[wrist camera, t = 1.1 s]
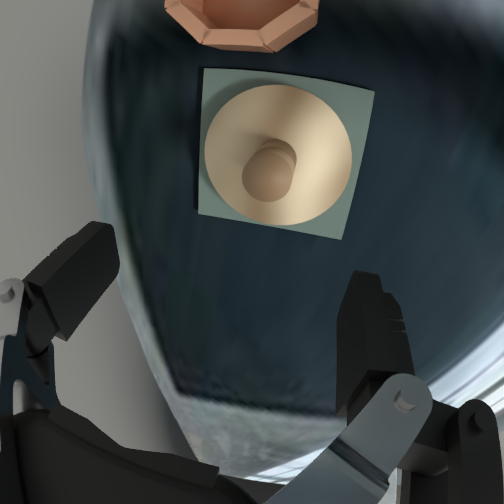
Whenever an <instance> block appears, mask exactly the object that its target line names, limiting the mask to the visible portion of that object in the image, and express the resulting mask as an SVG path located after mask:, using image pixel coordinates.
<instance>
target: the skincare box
mask: <svg viewBox="0 0 504 504" xmlns="http://www.w3.org/2000/svg"><path fill="white" fill-rule="evenodd" d="M388 482H389V483H390V485H389V488H388V490H387V492H386V493H385V495H384V496H383V498H382V499H381V500H380V501H379V503H378V504H395V503H396V482H397V468H395V469H394V471H393V472H392V473H391V475H390V477H389V479H388Z"/></svg>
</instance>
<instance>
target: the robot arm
mask: <svg viewBox="0 0 504 504" xmlns="http://www.w3.org/2000/svg"><path fill="white" fill-rule="evenodd" d="M119 267H120V260H119V255H118V249H117V244H116V238H115V232H114V228H113V226H112V225H111V224H107V223H101V222H96V221H91V222H90V223H88V224H87V225H86V226H85V227H83V228H82V229H81V230H80V231H79V232H78V233H76V234H75V235H73V236H71V237H69V238H67V239H66V240H65V241H63V242H62V243H61V244H60V245H59V246H58V247H57V249H55V250H54V251H52V252H51V253H50V256H47V257H46V258H45V259H44V260H43V261H42V262H41V263H39V265H37V266H36V267H35V268H34V269H33V270H32V271H31V272H30V273H29V274H28V275H27V276H26V277H25V278H24V279H23V280H22V281H21V280H20V279H17V278H10V279H7V280H4V281H2V282H1V283H0V504H258V503H257V501H256V500H255V499H254V498H253V497H252V496H251V495H249V493H247V492H246V491H245V490H244V489H242V488H241V487H240V486H238V485H237V484H235V483H234V482H232V481H230V480H228V479H227V478H225V477H223V476H221V475H220V472H219V467H217V466H213V465H209V464H205V463H202V462H198V461H194V460H191V459H187V458H184V457H181V456H177V455H174V454H170V453H160V452H151V451H143V450H136V449H129V448H125V447H122V446H120V445H119V444H118V443H116V442H115V441H114V440H112V439H111V438H110V437H109V436H107V435H106V434H105V433H104V432H102V431H101V430H100V429H99V428H98V427H96V426H95V425H94V424H93V423H92V422H91V421H90V420H88V419H87V418H85V417H82V416H81V415H79V414H77V413H75V412H73V411H71V410H70V409H67V408H66V407H64V406H62V405H61V404H60V402H59V399H58V397H57V394H56V387H55V370H54V346H53V343H52V341H51V340H52V339H53V337H54V336H56V337H58V338H60V339H62V340H64V341H68V339H69V338H70V336H71V335H72V334H73V332H74V331H75V329H76V328H77V327H78V325H79V324H80V322H81V321H82V320H83V319H84V317H85V316H86V315H87V313H88V312H89V311H90V310H91V308H92V307H93V306H94V304H95V303H96V302H97V301H98V299H99V298H100V296H101V295H102V294H103V293H104V292H105V290H106V289H107V288H108V287H109V285H110V284H111V283H112V282H113V280H114V279H115V278H116V276H117V274H118V272H119ZM405 332H406V329H405V324H404V322H403V316H402V312H401V308H400V305H399V304H398V303H397V301H396V300H395V298H394V297H393V296H392V294H391V293H385V292H383V289H382V285H381V281H380V277H379V275H378V274H373V273H368V272H362V271H357V270H355V271H354V272H353V274H352V276H351V279H350V282H349V285H348V287H347V290H346V293H345V295H344V298H343V301H342V303H341V306H340V309H339V312H338V317H337V383H336V413H335V416H346V417H347V427H346V428H345V429H344V430H343V432H342V433H341V434H340V435H339V436H338V437H337V438H336V439H335V440H334V441H333V442H332V443H331V444H330V445H329V446H328V447H327V448H326V449H325V450H324V451H323V452H322V453H321V454H320V455H319V456H318V457H317V458H316V459H315V460H314V461H313V462H312V463H310V464H309V465H308V466H307V467H306V468H305V469H304V470H303V471H302V472H301V473H299V474H298V475H297V476H296V477H295V478H294V479H293V480H291V481H290V482H289V483H288V484H287V485H286V486H284V487H283V488H282V489H281V490H280V491H278V492H277V493H276V494H275V495H273V496H272V497H271V498H269V499H268V500H267V501H266V502H264V503H263V504H378V503H379V501H380V500H381V499H382V498H383V496H384V495H385V493H386V492H387V490H388V488H389V485H390V483H389V482H388V479H389V477H390V475H391V473H392V472H393V471H394V469H395V468H400V469H402V483H401V498H400V504H504V493H503V492H504V490H503V470H502V458H501V449H500V441H499V434H498V427H497V421H496V417H495V415H494V413H493V411H492V409H491V408H490V407H489V406H488V405H487V404H486V403H485V402H483V401H481V400H477V399H472V400H469V401H467V402H465V403H464V404H463V405H462V406H461V407H460V408H459V409H458V408H455V407H452V406H450V405H447V404H444V403H441V402H438V401H436V400H434V399H432V395H431V392H430V390H429V388H428V387H427V385H426V384H425V383H424V382H423V381H422V380H420V379H419V378H417V377H415V373H414V367H413V362H412V357H411V352H410V347H409V342H408V338H407V333H405Z"/></svg>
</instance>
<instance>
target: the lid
mask: <svg viewBox="0 0 504 504" xmlns="http://www.w3.org/2000/svg"><path fill="white" fill-rule="evenodd" d="M204 150H205V163H206V168H207V172H208V175H209V177H210V180H211V182H212V184H213V186H214V187H215V189H216V191H217V192H218V194H219V195H220V196H221V197H222V199H223V200H224V201H225V202H226V203H227V204H228V205H229V206H231V207H232V208H233V209H234V210H236V211H237V212H239V213H240V214H242V215H244V216H246V217H248V218H250V219H252V220H255V221H258V222H261V223H265V224H271V225H293V224H298V223H302V222H305V221H308V220H311V219H313V218H315V217H317V216H319V215H320V214H322V213H323V212H325V211H326V210H327V209H329V208H330V207H331V206H332V205H333V204H334V203H335V202H336V201H337V199H338V198H339V197H340V195H341V194H342V192H343V191H344V189H345V187H346V184H347V182H348V179H349V176H350V172H351V165H352V151H351V144H350V141H349V137H348V134H347V132H346V130H345V127H344V125H343V124H342V122H341V120H340V119H339V117H338V116H337V114H336V113H335V112H334V111H333V110H332V108H331V107H330V106H329V105H327V104H326V103H325V102H324V101H323V100H321V99H320V98H319V97H317V96H316V95H314V94H312V93H310V92H308V91H306V90H303V89H300V88H297V87H293V86H288V85H265V86H260V87H255V88H252V89H249V90H247V91H244V92H242V93H240V94H238V95H237V96H235V97H234V98H232V99H231V100H230V101H228V102H227V103H226V104H225V105H224V106H223V107H222V108H221V109H220V110H219V112H218V113H217V114H216V116H215V117H214V119H213V121H212V123H211V125H210V127H209V130H208V132H207V136H206V140H205V149H204Z"/></svg>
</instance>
